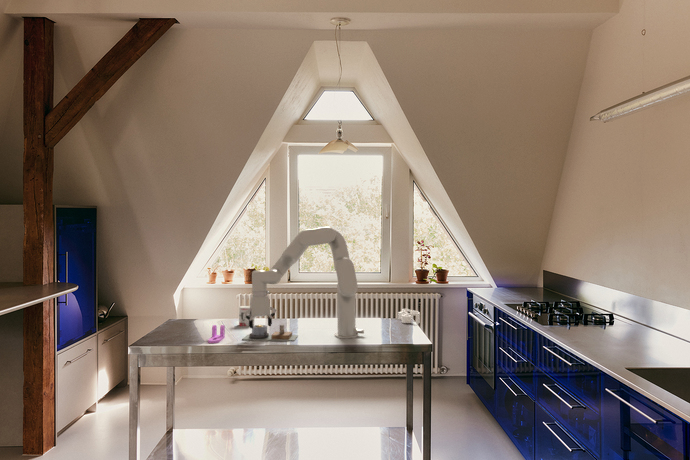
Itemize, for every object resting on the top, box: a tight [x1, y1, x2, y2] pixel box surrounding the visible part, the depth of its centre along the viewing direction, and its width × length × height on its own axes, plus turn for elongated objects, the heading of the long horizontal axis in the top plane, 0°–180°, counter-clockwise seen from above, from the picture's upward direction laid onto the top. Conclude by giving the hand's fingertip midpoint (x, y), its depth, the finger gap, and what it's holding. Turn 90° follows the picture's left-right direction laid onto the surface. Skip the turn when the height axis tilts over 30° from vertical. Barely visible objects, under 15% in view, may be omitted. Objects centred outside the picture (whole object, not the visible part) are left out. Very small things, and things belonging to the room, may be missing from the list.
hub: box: [248, 324, 270, 339], centre depth 244 cm, size 10×10×6 cm
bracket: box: [207, 324, 226, 344], centre depth 239 cm, size 13×6×7 cm, turn 1°
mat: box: [241, 334, 299, 342], centre depth 243 cm, size 27×11×1 cm, turn 86°
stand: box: [270, 324, 293, 339], centre depth 243 cm, size 9×9×6 cm
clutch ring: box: [251, 324, 268, 336], centre depth 244 cm, size 7×7×4 cm
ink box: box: [238, 305, 255, 327], centre depth 275 cm, size 9×5×12 cm, turn 105°
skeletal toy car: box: [397, 308, 421, 325], centre depth 287 cm, size 20×11×7 cm, turn 4°
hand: (260, 326), depth 244 cm, fingers open, 9 cm apart
